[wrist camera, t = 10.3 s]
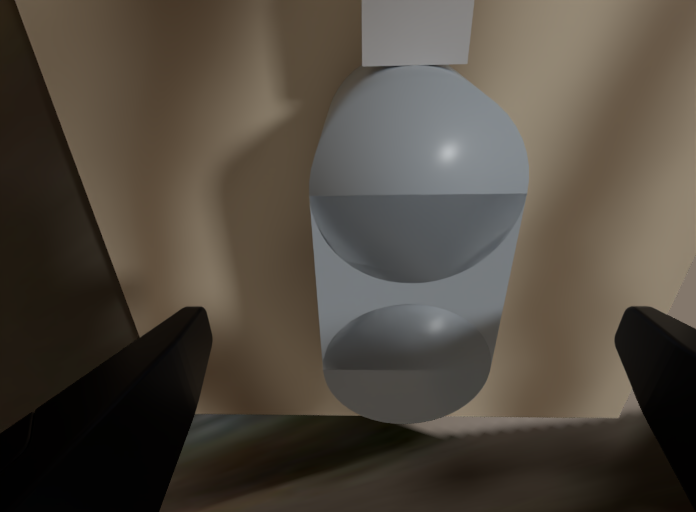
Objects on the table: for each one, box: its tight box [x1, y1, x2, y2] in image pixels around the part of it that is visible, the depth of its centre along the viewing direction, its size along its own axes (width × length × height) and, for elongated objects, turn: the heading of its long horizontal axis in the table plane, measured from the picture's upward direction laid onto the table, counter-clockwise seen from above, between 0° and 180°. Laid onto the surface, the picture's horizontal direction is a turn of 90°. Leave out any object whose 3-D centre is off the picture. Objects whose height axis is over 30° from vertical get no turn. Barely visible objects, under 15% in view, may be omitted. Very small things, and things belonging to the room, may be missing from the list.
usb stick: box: [309, 0, 529, 424], centre depth 11 cm, size 12×4×4 cm, turn 1°
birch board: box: [15, 0, 696, 418], centre depth 14 cm, size 20×20×1 cm
